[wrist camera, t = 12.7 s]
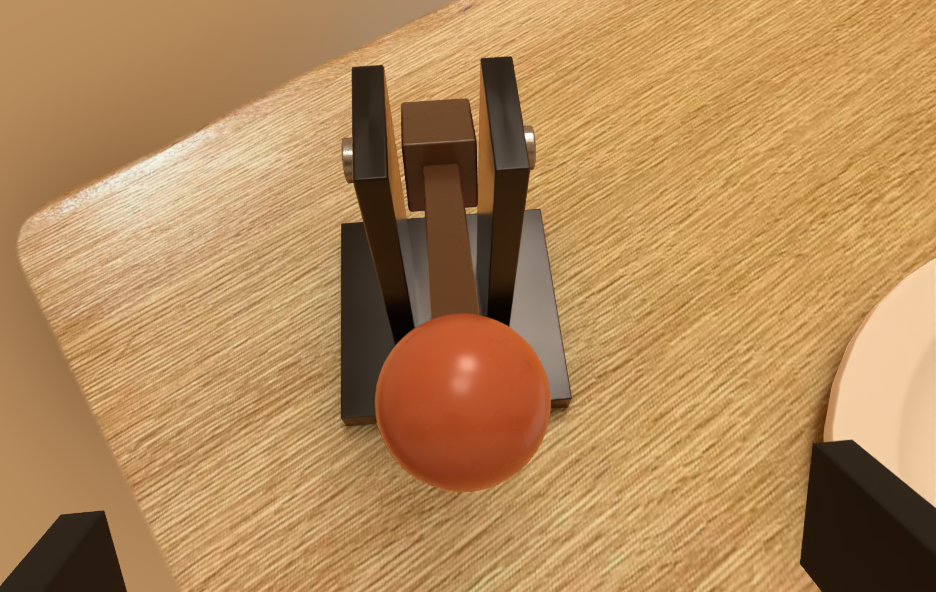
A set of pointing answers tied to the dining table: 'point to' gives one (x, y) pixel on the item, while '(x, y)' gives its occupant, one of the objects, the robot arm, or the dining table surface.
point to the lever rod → (456, 332)
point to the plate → (893, 383)
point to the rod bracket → (405, 246)
